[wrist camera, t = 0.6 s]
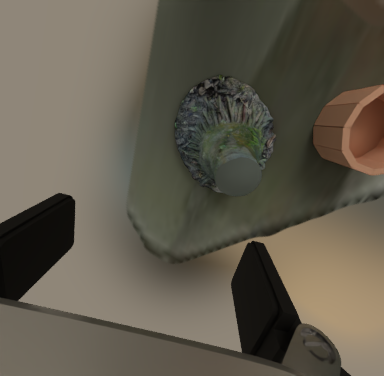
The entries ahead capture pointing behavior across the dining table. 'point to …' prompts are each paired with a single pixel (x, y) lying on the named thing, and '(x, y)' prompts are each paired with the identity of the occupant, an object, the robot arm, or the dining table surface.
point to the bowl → (353, 130)
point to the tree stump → (224, 135)
